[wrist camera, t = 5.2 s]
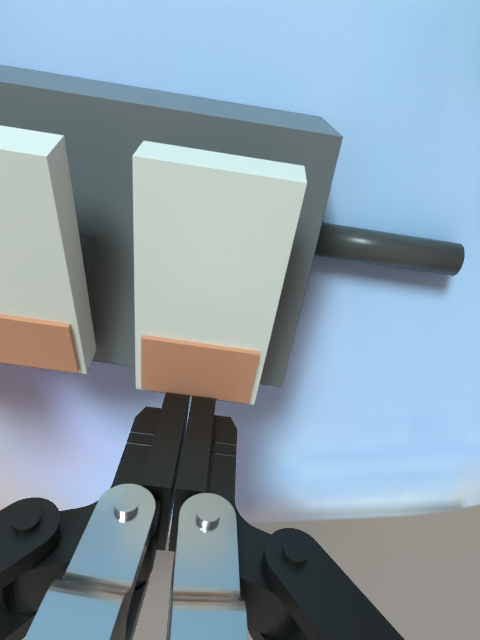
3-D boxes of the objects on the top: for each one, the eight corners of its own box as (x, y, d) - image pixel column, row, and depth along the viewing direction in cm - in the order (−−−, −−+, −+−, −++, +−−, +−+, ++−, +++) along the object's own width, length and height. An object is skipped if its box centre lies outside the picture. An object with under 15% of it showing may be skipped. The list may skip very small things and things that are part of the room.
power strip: (493, 144, 15) (593, 181, 11) (413, 342, 19) (461, 430, 15) (-168, 37, 14) (-366, 26, 10) (-106, 268, 19) (-226, 337, 14)
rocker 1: (64, 135, 10) (43, 160, 9) (96, 349, 14) (85, 378, 14) (-110, 108, 9) (-147, 130, 9) (-17, 334, 14) (-35, 361, 14)
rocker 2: (304, 166, 10) (307, 185, 9) (255, 380, 14) (253, 408, 13) (143, 140, 10) (130, 157, 9) (143, 365, 14) (134, 392, 13)
